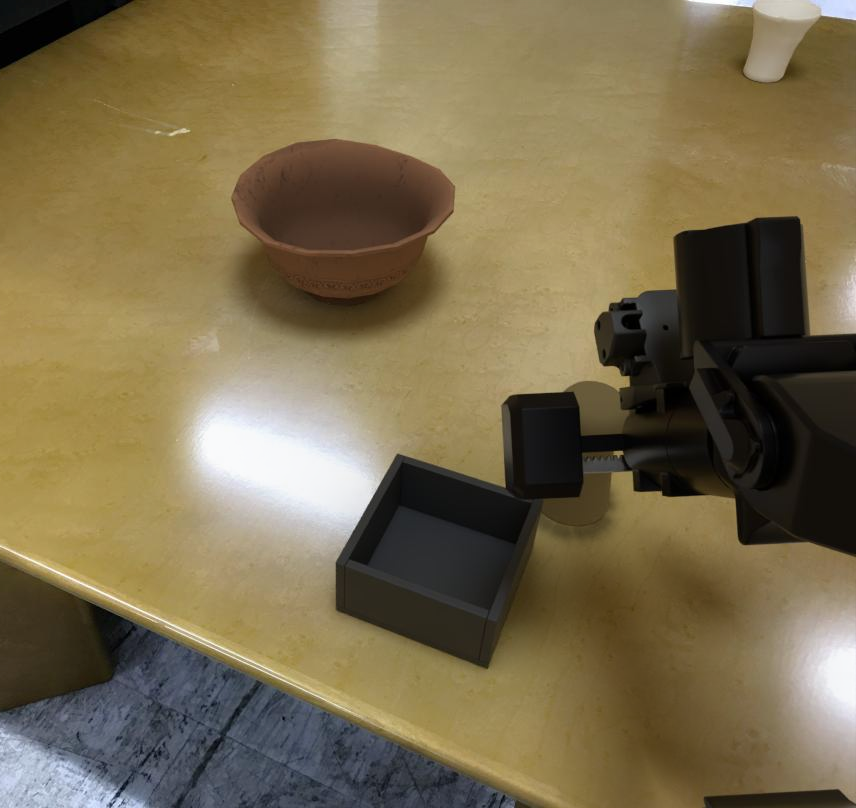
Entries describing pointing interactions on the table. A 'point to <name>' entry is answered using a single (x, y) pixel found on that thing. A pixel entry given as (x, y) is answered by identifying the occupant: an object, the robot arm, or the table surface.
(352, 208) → the bowl
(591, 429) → the cork
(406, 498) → the dark grey square box
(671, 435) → the robot arm
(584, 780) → the table surface
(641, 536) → the table surface
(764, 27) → the cup
